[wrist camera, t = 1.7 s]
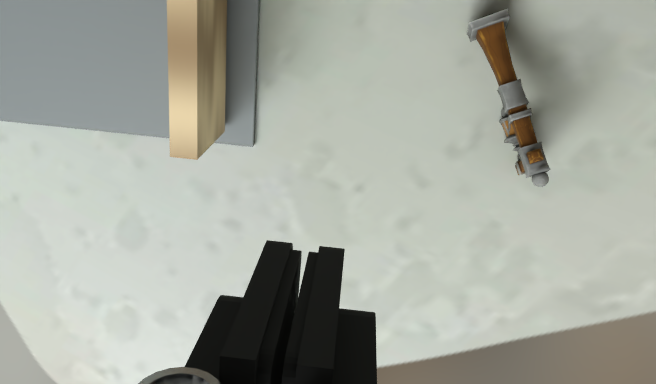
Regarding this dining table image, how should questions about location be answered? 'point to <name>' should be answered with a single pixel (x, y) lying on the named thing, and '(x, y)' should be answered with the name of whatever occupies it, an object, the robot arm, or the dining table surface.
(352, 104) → the dining table surface
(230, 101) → the card
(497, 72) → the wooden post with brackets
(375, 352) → the robot arm
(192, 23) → the tan wooden board
